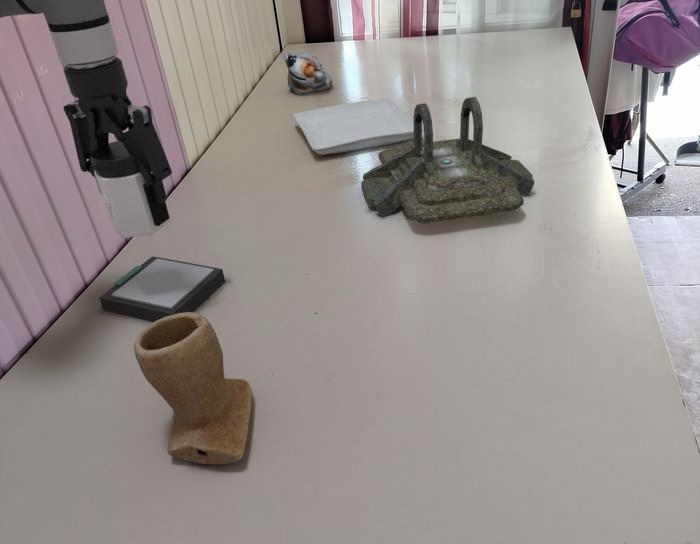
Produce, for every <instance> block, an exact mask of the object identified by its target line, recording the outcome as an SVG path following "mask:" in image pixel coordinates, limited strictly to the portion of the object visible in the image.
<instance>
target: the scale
mask: <svg viewBox="0 0 700 544" xmlns="http://www.w3.org/2000/svg"><path fill="white" fill-rule="evenodd" d="M225 282H226V279H225V275H224V270H223V268H219V267H214V266H208V265H202V264H197V263H192V262H187V261H182V260H175V259H169V258H164V257H159V256H154V255H153V256H151V257H149V258H148V259H147V260H145V261H144V262H143V263H142V264H140V265H136V266H135V267H133V268H132V269H131V270H129V271H128V272H127V273H125V274H124V275H123V276H121V277H120V278H119V279H118V280H116V281H115V282H114V283H113V284H114V285H113V286H112V287H111V288H109V289H108V290H107V291H106V292H104V293H103V294H102V295H100V296H98V299H99V302H100V304H101V307H102V310H103V311H105V312H110V313H114V314H118V315H123V316H127V317H132V318H137V319H141V320H144V321H149V322H152V323H154V322H155V321H157V320H159V319H161V318H164V317H167V316H170V315H174V314H178V313H185V312H193V313H194V311H195V310H197V308H199V307H200V306H201V305H202V304H203V303H204V302H205V301H206V300H207V299H208V298H209V297H210V296H212V295H213V293H215V292H216V291H217V290H218V289H219V288H220V287H221V286H222V285H223V284H224V283H225Z"/></svg>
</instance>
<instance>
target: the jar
mask: <svg viewBox="0 0 700 544" xmlns="http://www.w3.org/2000/svg"><path fill="white" fill-rule="evenodd" d="M90 158H91V161H92V165H93V168H94V169H95V170H94V174H95V177H96V179H97V182H98V185H99V188H100V191H101V193H100V195H101V194H102V195H101V197H102V200H103V202H104V205H105V208H106V211H107V214H108V217H109V221H110V223H111V226H112V228H113V229H114V231H115V232H116V233H118V235H119V236H120V237H121V238H122V239H127V238H136V237H144V236H152V235H154V234H156V233H157V232H158V231H159V230H161V229H162V228H164V227H165V226H166V225H168V224H170V223H171V215H169V217H170V218H169V219H168V220H167V221H165V222H164V223H162V224H161V225H160V226H155V224H154V221H153V218H152V214H151V211H150V208H149V204H148V201H147V197H146V194H145V191H144V187H143V184H144V183H146V180H145V178H144V177H143V175H142V174H141V172H140V170H139V169H138V166H137V162H136V159H135V156H134V155H130V154H129V153H128V151H127V149H126V148H125V146H124V145H123V143H122V142H121V141H118V140H117V141H116V140H115V141H112V142H109V145H107V146H106V147H104V148H102V149H100V150H98V151H93V152H92V153H91V155H90ZM152 173H153V172H152V171H151V174H152ZM95 177H94V178H95ZM96 179H95V180H96ZM97 182H96V183H97ZM98 185H97V186H98ZM99 188H98V189H99ZM100 191H99V192H100ZM165 203H166V206H167V201H165ZM167 207H168V206H167ZM167 210H168V208H167ZM168 211H169V210H168Z"/></svg>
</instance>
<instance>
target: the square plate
mask: <svg viewBox="0 0 700 544" xmlns="http://www.w3.org/2000/svg"><path fill="white" fill-rule="evenodd" d="M291 117H292V119H293V120H294V122H295V123H296V124H297V126H298V127H299V128H300V130H301V132H302V133H303V134H304V136H305V138H306V141H307V142H308V145H309V146H310V148H311V150H312V151H314V152H315V153H316V154H318V155H330V154H331V155H332V154H334V155H335V154H341V153H342V154H343V153H348V152H355V151H359V150H366V149H370V148H377V147H383V146H387V145H392V144H396V143H399V142H403V141H408V140H412V139H414V117H412V116H411V115H409V113H407V112H406V111H405V110H404V109H403V108H402V107H400V105H398V104H397V103H396V102H395V101H394V100H392V99H391V98H390V97H385V98H378V99H370V100H362V101H355V102H354V101H353V102H348V103H342V104H335V105H331V106H325V107H321V108H320V107H319V108H315V109H310V110H306V111H300V112H296V113H295V112H294V113H292V114H291ZM422 132H424V127H422Z"/></svg>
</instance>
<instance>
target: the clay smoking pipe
mask: <svg viewBox="0 0 700 544" xmlns="http://www.w3.org/2000/svg"><path fill="white" fill-rule="evenodd" d="M133 349H134V350H133V351H134V357H135V359H136V361H137V364H138V366H139V368H140V371H141V373H142V374H143V377H144V378H145V380H146V381H147V382H148V383H149V384H150V386H152V388H153V389H154V390H155V391H156V392H157V393H158V394H159V395H160V396H161V397H162V398H163V400H164V401H165V402H166V403H167V405H168V406H169V407H170V408H171V409H172V412H173V416H172V422H171V429H170V436H169V441H168V445H167V454H168V455H169V456H171V457H175V458H178V459H181V460H184V461H187V462H193V463H198V464H200V465H201V464H202V465H207V464H210V465H225V464H226V465H228V464H232V463H236V462H239V461H240V460H241V459H243V457H244V454H245V450H246V444H247V441H248V433H249V425H250V419H251V413H252V397H253V396H252V395H253V394H252V393H253V392H252V387H251V385H250V382H249V381H247V380H245V379H242V378H241V379H240V378H225V370H224V352H223V349H222V347H221V344H220V341H219V338H218V336H217V333H216V331H215V329H214V327H213V325H212V323H211V322H210V320H208V318H207V317H206V316H204V315H203V314H200V313H197V312H194V311H193V312H185V313H178V314H174V315H170V316H167V317H164V318H161V319H159V320H157V321H155V322H152V323H150V324H149V325H147V326H146V327H145V328H143V329H142V330H141V331H140V332H139V333H138V334H137V336H136V339H135V341H134V346H133Z"/></svg>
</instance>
